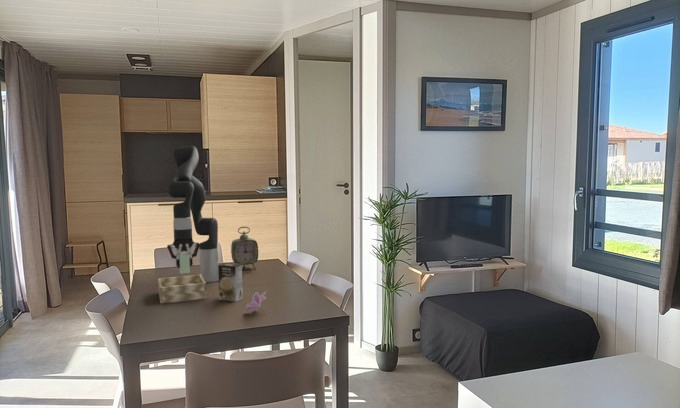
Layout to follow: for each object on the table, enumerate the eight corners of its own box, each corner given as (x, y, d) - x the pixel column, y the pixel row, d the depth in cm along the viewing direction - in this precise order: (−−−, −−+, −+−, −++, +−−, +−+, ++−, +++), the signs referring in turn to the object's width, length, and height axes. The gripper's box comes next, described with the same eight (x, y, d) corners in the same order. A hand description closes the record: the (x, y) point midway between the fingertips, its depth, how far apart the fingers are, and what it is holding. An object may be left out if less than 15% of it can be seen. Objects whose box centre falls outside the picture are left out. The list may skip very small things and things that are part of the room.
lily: (271, 310, 215) (261, 290, 216) (279, 306, 205) (268, 285, 206) (246, 324, 209) (236, 303, 210) (254, 320, 199) (243, 298, 200)
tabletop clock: (233, 271, 290) (232, 228, 287) (231, 268, 298) (229, 226, 296) (258, 269, 295) (257, 226, 293) (255, 266, 303) (254, 225, 301)
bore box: (201, 288, 251) (200, 274, 251) (206, 298, 233) (206, 283, 232) (158, 293, 244) (157, 278, 243) (160, 303, 225) (159, 287, 225)
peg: (189, 270, 222) (188, 252, 222) (190, 272, 219) (189, 254, 218) (179, 271, 221) (178, 253, 220) (180, 273, 217) (179, 255, 216)
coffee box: (218, 300, 230) (217, 265, 228) (226, 296, 236) (224, 262, 234) (236, 301, 226) (235, 266, 225) (243, 298, 233) (242, 263, 231)
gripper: (198, 225, 224) (200, 264, 226) (164, 227, 219) (166, 267, 220) (200, 227, 217) (202, 267, 219) (165, 229, 212) (167, 270, 213)
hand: (184, 267), depth 219 cm, fingers closed on peg, 4 cm apart
